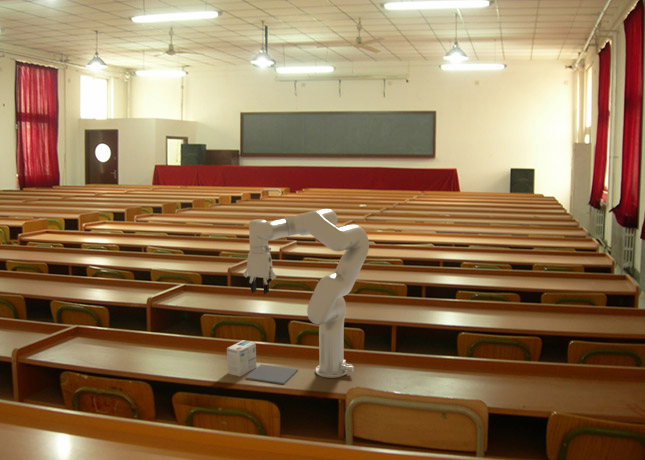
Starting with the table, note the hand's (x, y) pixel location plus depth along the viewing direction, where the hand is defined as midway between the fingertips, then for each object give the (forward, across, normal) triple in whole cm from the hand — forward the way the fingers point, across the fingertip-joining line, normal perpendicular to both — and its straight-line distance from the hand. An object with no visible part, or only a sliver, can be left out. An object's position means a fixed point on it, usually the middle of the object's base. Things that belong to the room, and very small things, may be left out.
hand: (259, 292), depth 258 cm
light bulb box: (+28, 0, +18) cm, 33 cm away
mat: (+27, -13, +18) cm, 35 cm away
